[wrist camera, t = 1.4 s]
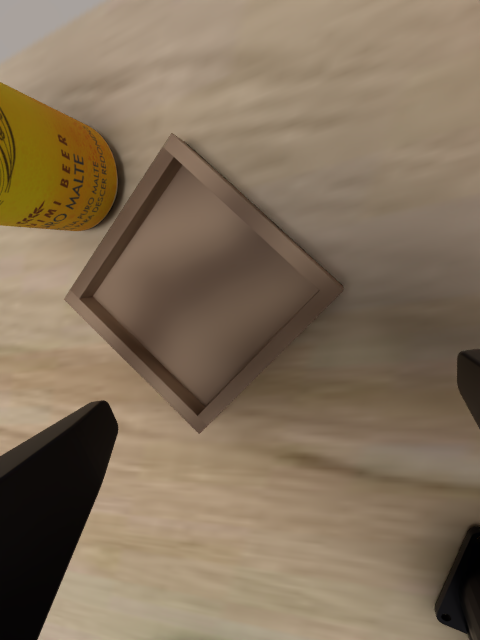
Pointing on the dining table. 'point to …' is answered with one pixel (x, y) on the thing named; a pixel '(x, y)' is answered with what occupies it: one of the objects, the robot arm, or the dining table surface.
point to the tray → (198, 286)
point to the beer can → (51, 167)
